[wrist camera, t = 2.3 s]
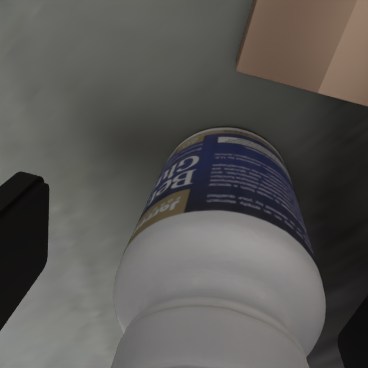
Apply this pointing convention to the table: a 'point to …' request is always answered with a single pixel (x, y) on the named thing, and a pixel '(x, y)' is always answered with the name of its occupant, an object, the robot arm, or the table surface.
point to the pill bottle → (219, 263)
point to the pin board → (309, 46)
